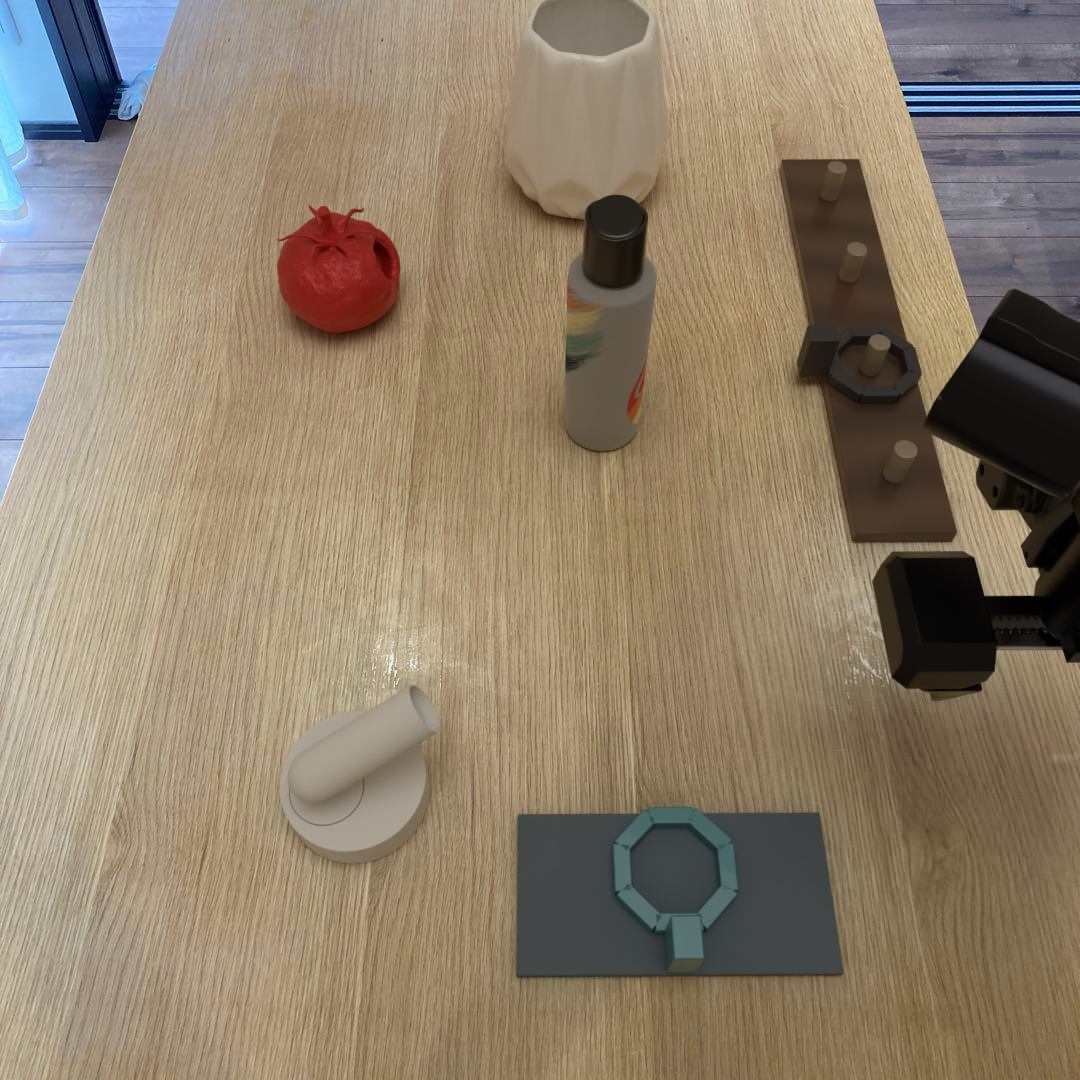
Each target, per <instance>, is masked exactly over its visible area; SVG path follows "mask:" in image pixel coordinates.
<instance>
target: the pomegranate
mask: <svg viewBox="0 0 1080 1080" xmlns="http://www.w3.org/2000/svg"><path fill="white" fill-rule="evenodd" d="M308 209H309V211H310V213H312V215H313V216H314V217H312V218H310V219H309V220H307V221H306V222H305V223H304V224H303V225H301V226H300V227H299V228H297V229H296V230H295V231H294V232H293V233H290V234H288V235H286V236H285V237H282V238H275V241H277V242H284V243H283V245H282V246H281V248H280V252H279V257H278V259H277V262H276V270H277V277H278V278H277V279H278V280H277V281H278V287H279V292H280V295H281V298H282V299H283V301H284V303H285V304H286V305H287V306H288V307H289V309H290V311H292V313H293V314H294V315H295V316H297V317H298V318H299V319H301V320H303V321H304V322H306V323H308V324H309V325H311V326H312V327H313V328H317V329H320V330H323V331H325V332H327V333H336V334H338V333H346V332H350V331H355V330H359V329H362V328H366V327H367V326H369V325H371V324H373V323H375V322H376V321H377V320H379V319H380V318H382V317H383V316H384V315H385V314H386V313H387V312H389V311H390V310H391V308H392V306H393V305H394V304H395V303H396V301H397V299H398V295H399V292H400V275H401V262H400V260H401V259H400V255H399V252H398V250H397V248H396V245H395V244H394V242H393V240H392V239H391V238H390V237H389V236H388V235H387V233H385V231H383V230H382V229H380V228H376V226H375V225H374V224H372V223H371V222H370V221H366V220H360V219H356V218H353V217H352V216H353V215H354V214H355V213H358V214H359V213H361V214H362V213H363V212H364V211H365V207H364V206H363V207H362V208H361V209H360V208H356V207H355V208H351V209H350V210H349V211H348V213H347V214H346V215H344V214H342V213H339V212H335V211H334V212H333V211H331V210H330V209H329V207H328V206H326V205H321V206H319V207H318V208H317V209H315V208H314V207H312V206H311V204H308Z"/></svg>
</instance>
